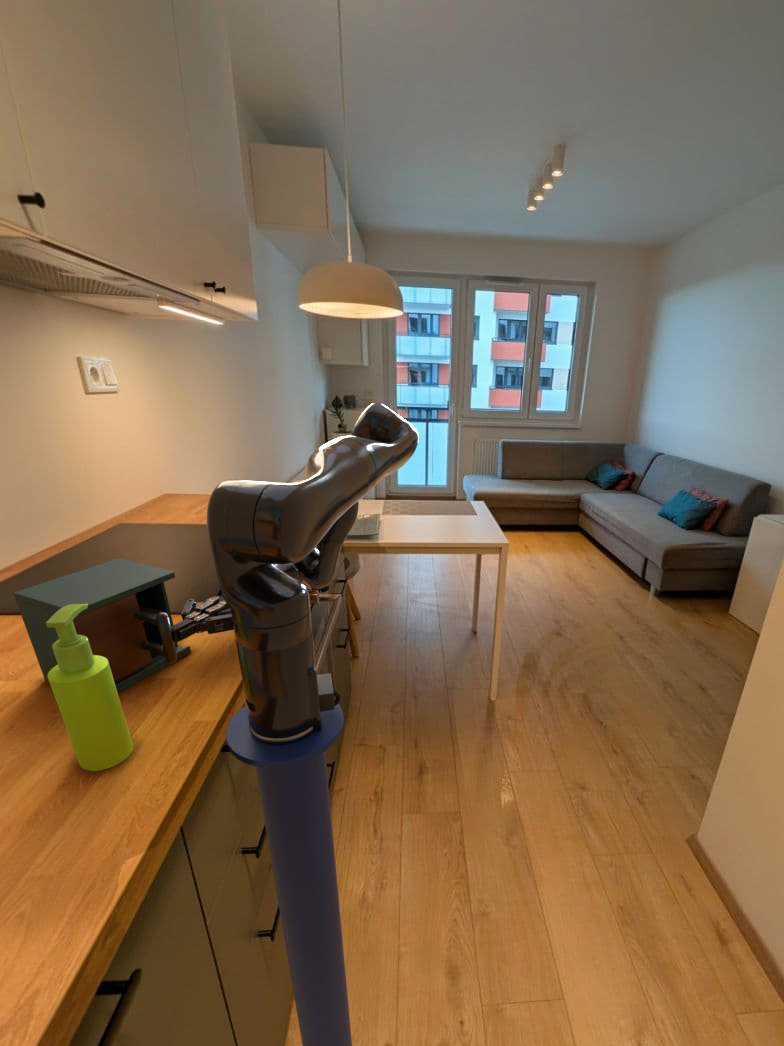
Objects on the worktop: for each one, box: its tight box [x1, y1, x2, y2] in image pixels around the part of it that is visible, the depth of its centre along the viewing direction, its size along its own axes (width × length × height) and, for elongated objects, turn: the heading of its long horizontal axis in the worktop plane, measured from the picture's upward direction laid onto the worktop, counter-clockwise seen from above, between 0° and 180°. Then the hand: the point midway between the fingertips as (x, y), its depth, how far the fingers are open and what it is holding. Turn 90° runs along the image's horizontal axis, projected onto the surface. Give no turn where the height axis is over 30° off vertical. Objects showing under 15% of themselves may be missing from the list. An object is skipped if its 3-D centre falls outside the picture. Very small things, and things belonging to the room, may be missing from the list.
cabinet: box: [13, 558, 192, 694], centre depth 80 cm, size 13×16×15 cm
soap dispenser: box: [46, 604, 134, 772], centre depth 61 cm, size 6×7×20 cm
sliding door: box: [73, 594, 178, 685], centre depth 75 cm, size 8×10×13 cm
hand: (171, 635), depth 78 cm, fingers closed
